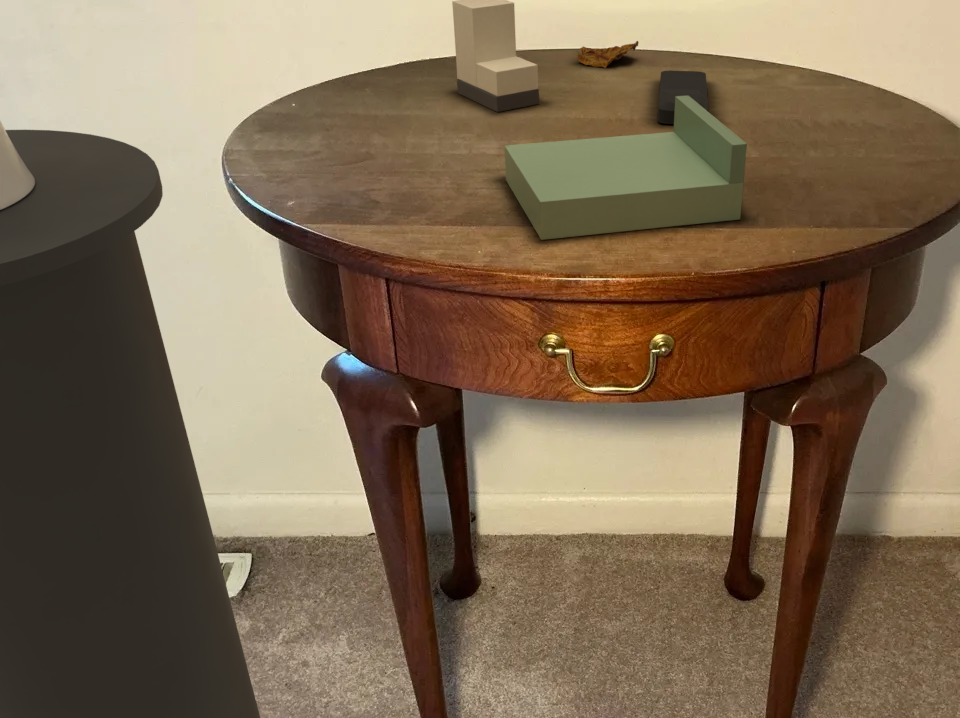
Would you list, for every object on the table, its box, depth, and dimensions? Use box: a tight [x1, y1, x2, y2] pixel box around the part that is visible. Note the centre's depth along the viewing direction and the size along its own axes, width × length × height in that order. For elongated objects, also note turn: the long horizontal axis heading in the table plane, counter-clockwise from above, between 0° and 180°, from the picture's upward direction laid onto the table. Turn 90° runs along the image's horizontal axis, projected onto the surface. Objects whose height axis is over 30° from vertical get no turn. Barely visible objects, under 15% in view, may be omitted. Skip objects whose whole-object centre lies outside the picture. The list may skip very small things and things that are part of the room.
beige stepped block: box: [451, 0, 540, 113], centre depth 106 cm, size 8×5×9 cm, turn 36°
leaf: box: [576, 40, 639, 69], centre depth 121 cm, size 6×7×2 cm
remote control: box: [657, 70, 709, 125], centre depth 107 cm, size 5×2×15 cm
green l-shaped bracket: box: [504, 96, 748, 241], centre depth 84 cm, size 16×13×6 cm
